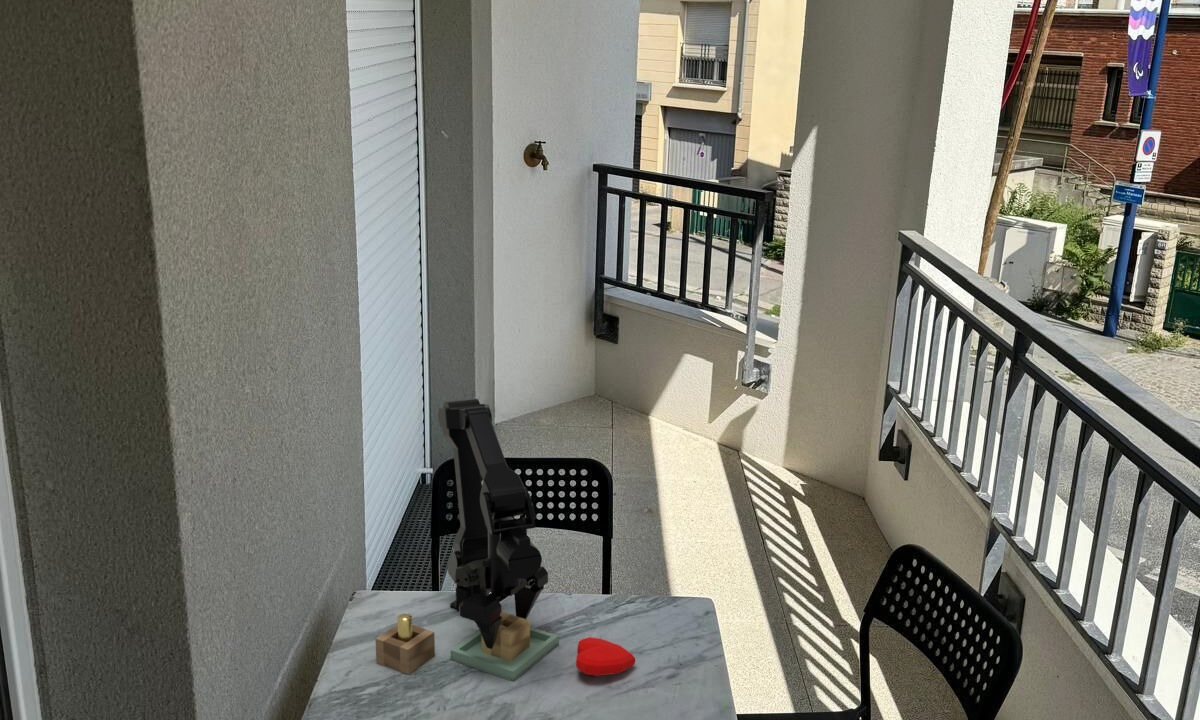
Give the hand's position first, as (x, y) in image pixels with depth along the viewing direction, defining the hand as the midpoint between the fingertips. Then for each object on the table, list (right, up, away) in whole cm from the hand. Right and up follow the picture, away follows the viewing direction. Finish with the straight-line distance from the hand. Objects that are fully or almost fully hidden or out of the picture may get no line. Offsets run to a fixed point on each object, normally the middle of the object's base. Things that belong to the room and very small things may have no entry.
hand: (505, 636), depth 189 cm
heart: (+17, -5, -3) cm, 18 cm away
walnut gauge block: (-17, -3, -2) cm, 17 cm away
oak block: (0, -2, +1) cm, 3 cm away
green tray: (0, -3, +1) cm, 3 cm away
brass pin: (-17, -3, -2) cm, 17 cm away
